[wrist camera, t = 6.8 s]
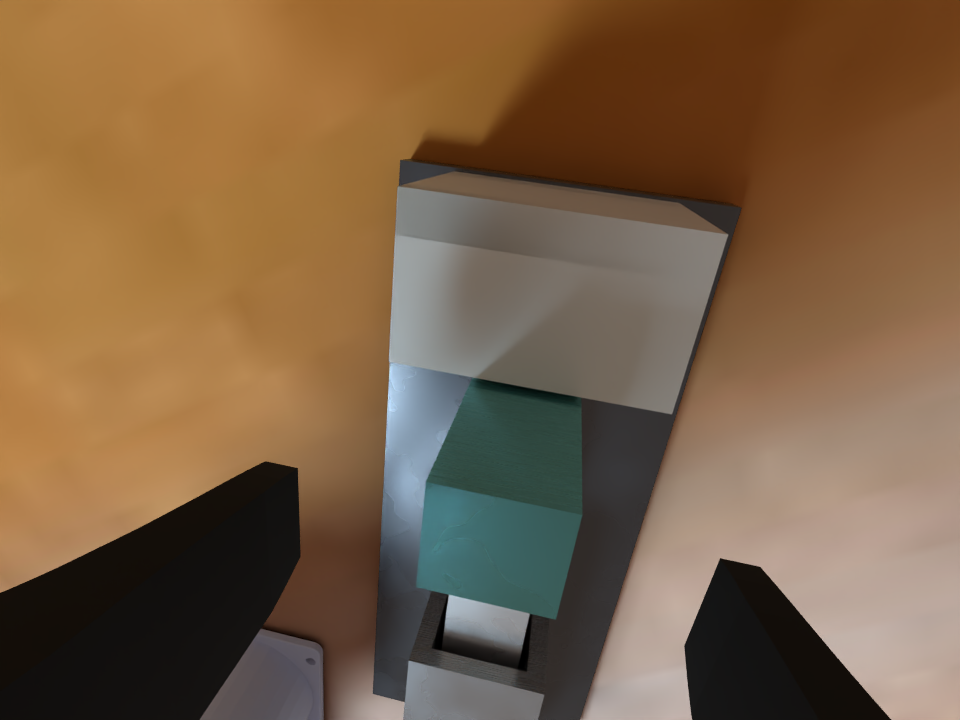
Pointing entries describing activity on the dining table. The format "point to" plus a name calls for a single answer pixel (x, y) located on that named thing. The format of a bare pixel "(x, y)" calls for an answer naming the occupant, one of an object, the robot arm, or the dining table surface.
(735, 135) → the dining table surface
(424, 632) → the grey long angular block
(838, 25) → the dining table surface
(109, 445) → the dining table surface
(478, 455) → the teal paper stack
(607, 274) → the socket
